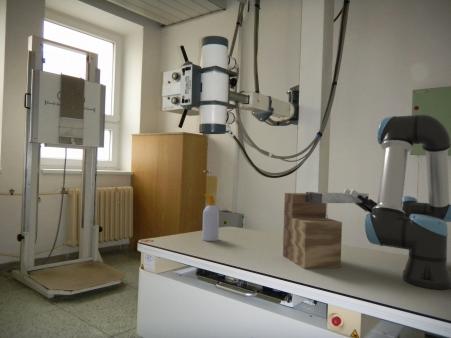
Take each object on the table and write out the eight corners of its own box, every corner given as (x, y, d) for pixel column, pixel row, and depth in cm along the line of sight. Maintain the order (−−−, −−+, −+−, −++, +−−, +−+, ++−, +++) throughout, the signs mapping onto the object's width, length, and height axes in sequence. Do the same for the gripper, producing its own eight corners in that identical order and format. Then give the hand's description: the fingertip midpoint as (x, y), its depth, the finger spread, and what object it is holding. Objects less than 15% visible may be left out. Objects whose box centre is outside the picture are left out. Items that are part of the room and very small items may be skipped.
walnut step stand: (340, 267, 138) (342, 197, 137) (304, 268, 133) (306, 197, 133) (315, 254, 157) (316, 193, 157) (282, 255, 153) (284, 192, 153)
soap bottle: (205, 237, 189) (207, 193, 189) (221, 239, 185) (222, 194, 185) (197, 239, 181) (199, 194, 181) (213, 241, 177) (214, 195, 177)
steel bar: (371, 203, 143) (371, 194, 143) (315, 203, 137) (315, 193, 136) (359, 201, 151) (359, 192, 151) (305, 201, 144) (305, 191, 144)
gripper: (398, 229, 141) (356, 201, 136) (370, 222, 158) (332, 197, 153) (406, 213, 142) (365, 185, 137) (378, 208, 159) (340, 182, 153)
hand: (347, 191), depth 145 cm, fingers closed on steel bar, 4 cm apart
